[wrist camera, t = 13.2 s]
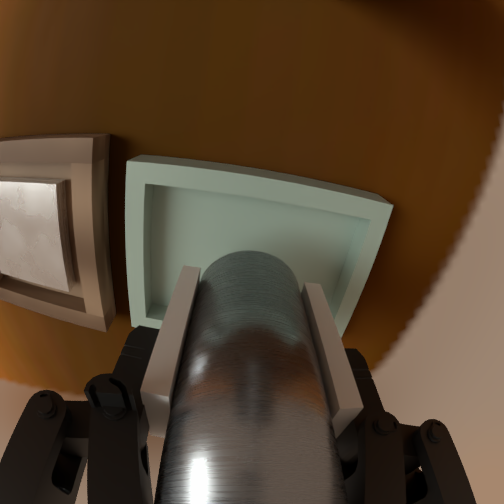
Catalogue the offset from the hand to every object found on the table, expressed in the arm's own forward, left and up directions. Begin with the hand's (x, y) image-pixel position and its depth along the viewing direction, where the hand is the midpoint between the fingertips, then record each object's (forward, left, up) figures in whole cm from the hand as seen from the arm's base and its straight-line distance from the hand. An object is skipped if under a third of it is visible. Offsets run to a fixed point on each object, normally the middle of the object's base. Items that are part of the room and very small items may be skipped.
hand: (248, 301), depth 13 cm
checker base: (0, -15, -4) cm, 15 cm away
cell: (0, 0, 0) cm, 0 cm away
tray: (0, 0, -4) cm, 4 cm away
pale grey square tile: (0, -14, -3) cm, 15 cm away
